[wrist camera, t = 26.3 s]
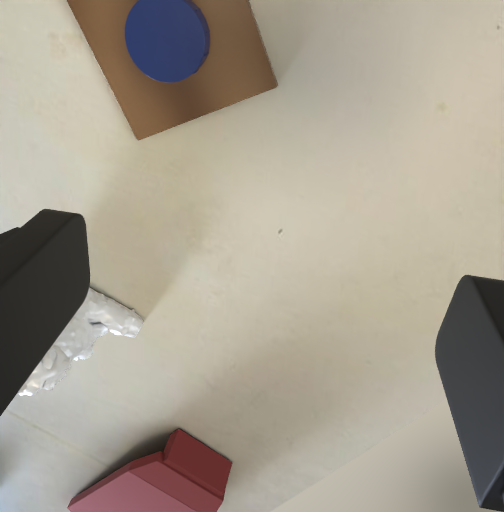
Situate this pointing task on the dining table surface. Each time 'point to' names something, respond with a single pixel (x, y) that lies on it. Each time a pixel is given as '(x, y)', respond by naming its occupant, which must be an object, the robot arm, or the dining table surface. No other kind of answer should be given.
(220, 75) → the cork coaster
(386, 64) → the dining table surface
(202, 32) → the jar lid
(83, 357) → the white creature statuette
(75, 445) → the dining table surface
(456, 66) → the dining table surface
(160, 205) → the dining table surface
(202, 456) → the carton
